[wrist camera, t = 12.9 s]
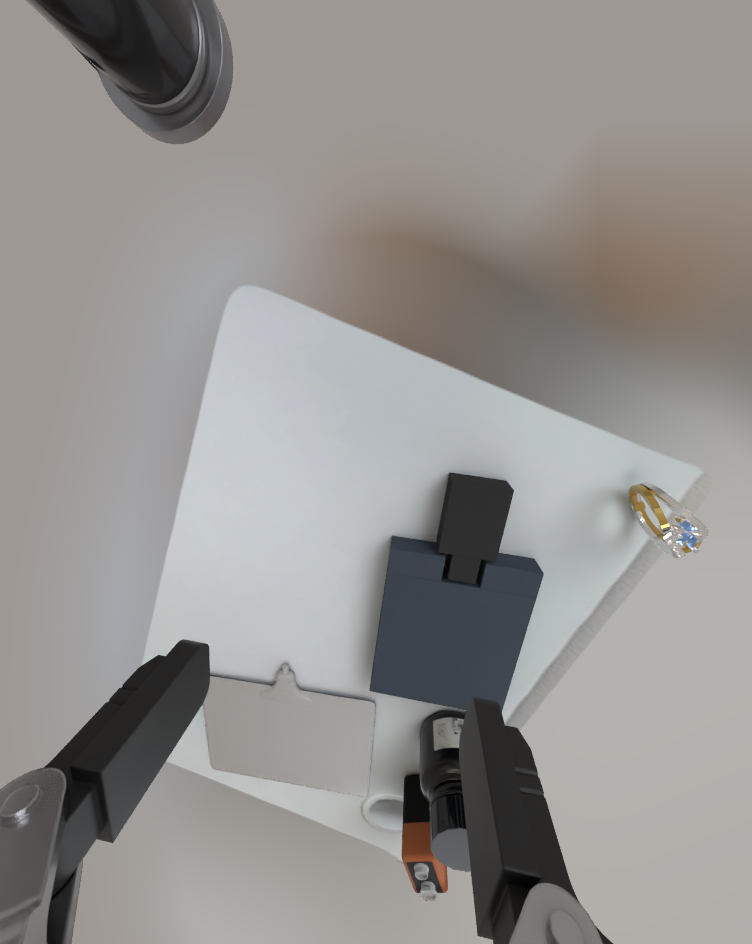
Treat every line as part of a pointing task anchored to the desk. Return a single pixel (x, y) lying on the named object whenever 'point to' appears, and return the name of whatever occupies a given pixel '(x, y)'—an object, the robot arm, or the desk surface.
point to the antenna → (290, 734)
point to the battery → (420, 844)
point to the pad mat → (451, 626)
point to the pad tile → (472, 523)
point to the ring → (686, 530)
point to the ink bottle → (444, 788)
